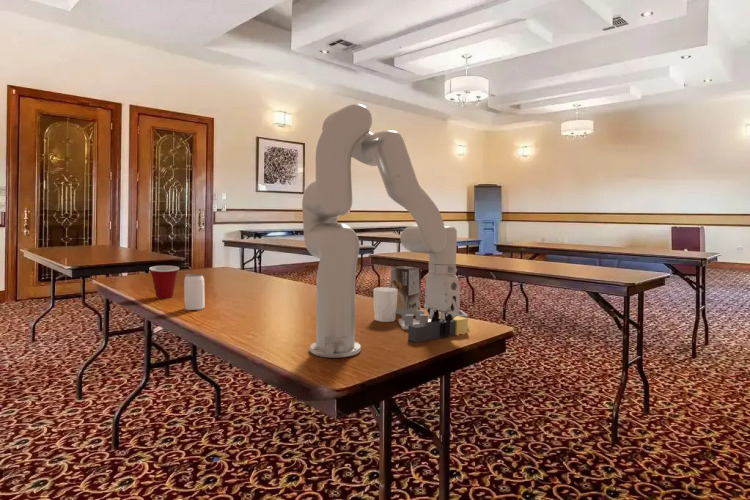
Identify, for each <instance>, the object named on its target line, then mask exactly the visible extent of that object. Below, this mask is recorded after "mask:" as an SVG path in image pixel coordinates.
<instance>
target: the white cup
mask: <svg viewBox="0 0 750 500" xmlns="http://www.w3.org/2000/svg"><path fill="white" fill-rule="evenodd" d="M397 295H398V289H396V288H391V287H388V286H387V287H385V286H383V287H379V286H378V287H375V288H373V312H374V320H375V321H377V322H381V323H391V322H395V321H396V319H397V318H396V316H397V314H396V308H397Z"/></svg>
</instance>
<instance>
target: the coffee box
mask: <svg viewBox="0 0 750 500" xmlns="http://www.w3.org/2000/svg"><path fill="white" fill-rule="evenodd" d="M421 284H422V268H421V267H413V266H405V265H399V266H391V267H390V288H396V289H398V295H397V308H396V315H399V316H402V310H410V315H413V317H414V316H415V317H416V310H421V292H422V290H421V288H422V287H421V286H422V285H421Z"/></svg>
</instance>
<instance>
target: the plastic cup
mask: <svg viewBox="0 0 750 500" xmlns="http://www.w3.org/2000/svg"><path fill="white" fill-rule="evenodd" d="M179 270H180V267H179V266H176V265H175V266H174V265H155V266H150V267H149V271H150V274H151V277H152V281H153V286H154V287H153V288H154V290H155V291H154V292H155V296H156V298H157V297H158V298H157V299H169V298H168V297H171V298H173V297H172V296H174V292H175V288H176V281H177V280H176V279H177V275H178V273H179V272H178V271H179Z"/></svg>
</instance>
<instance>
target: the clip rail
mask: <svg viewBox="0 0 750 500" xmlns="http://www.w3.org/2000/svg"><path fill="white" fill-rule="evenodd" d="M458 311H459V315H458V316H460V317H464V318H468V319H469V315H468V314H467V313H466V312H464V311H463V310H462V309H459V310H458ZM447 315H448V313H447V314H446V316H447ZM439 318H440V319H441V320H442V311H440V317H439ZM426 322H431V319H430V318H429V315H428V314H425V310H424V309H420V310H416V315H415V318H414V316H413V315H410V310H402V315H401V318H398V324H399V325H400V327H401V329H402V330H408V326H409V325H414V324H420V323H426ZM469 326H470V325H468V329H467V330H469V328H470V327H469Z"/></svg>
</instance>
